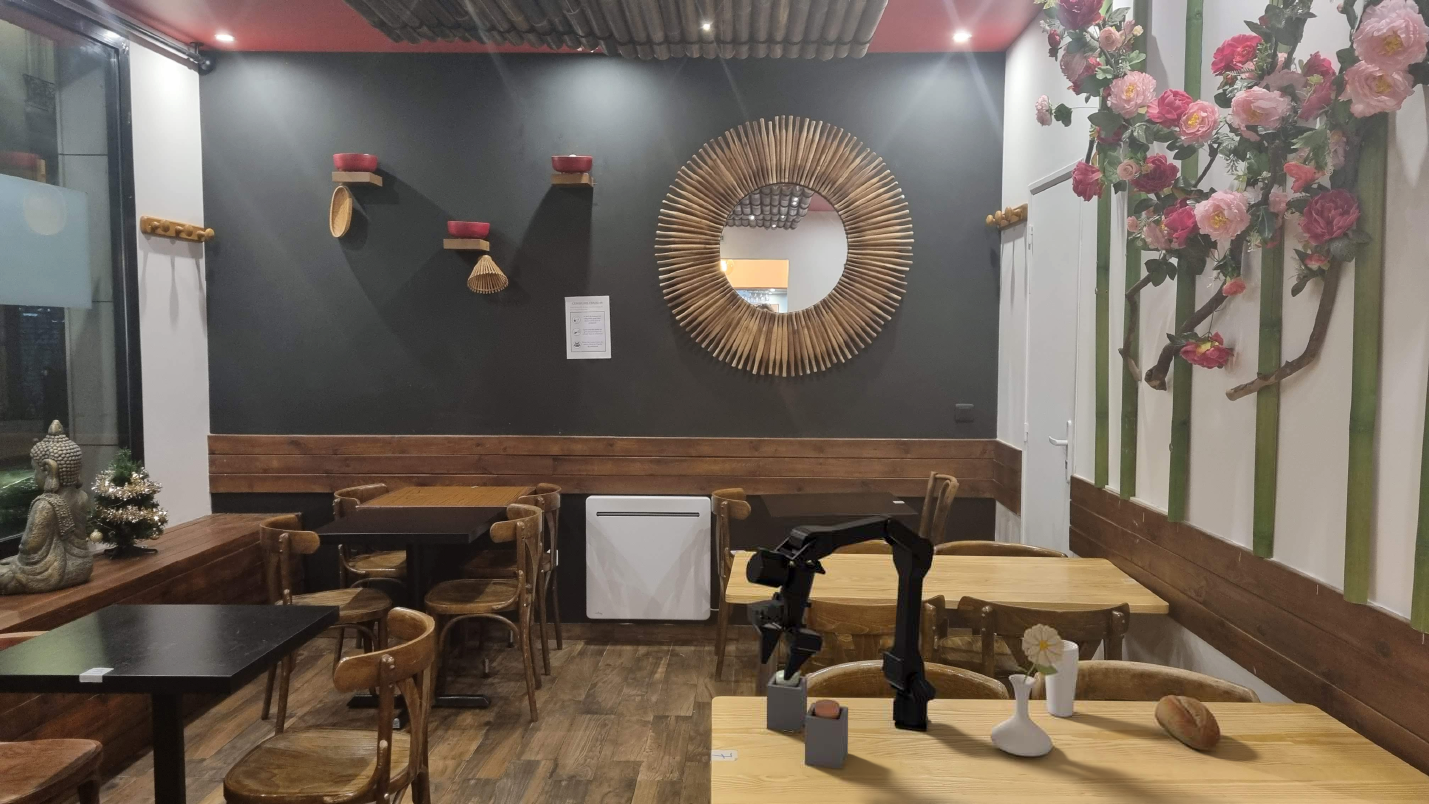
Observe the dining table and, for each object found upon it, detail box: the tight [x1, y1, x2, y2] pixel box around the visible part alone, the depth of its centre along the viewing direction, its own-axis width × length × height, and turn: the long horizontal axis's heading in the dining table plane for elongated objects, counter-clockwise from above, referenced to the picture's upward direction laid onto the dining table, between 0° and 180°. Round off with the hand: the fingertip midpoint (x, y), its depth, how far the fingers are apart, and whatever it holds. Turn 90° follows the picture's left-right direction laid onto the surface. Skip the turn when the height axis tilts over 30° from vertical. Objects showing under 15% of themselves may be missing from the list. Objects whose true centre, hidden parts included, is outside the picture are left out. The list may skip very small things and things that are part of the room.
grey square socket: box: [766, 672, 808, 733], centre depth 174 cm, size 7×7×9 cm
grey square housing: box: [804, 702, 849, 771], centre depth 159 cm, size 7×7×9 cm
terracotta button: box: [814, 698, 840, 720], centre depth 158 cm, size 5×5×2 cm
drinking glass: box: [1044, 639, 1079, 718], centre depth 179 cm, size 7×7×15 cm
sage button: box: [775, 669, 800, 688], centre depth 173 cm, size 5×5×2 cm
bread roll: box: [1154, 694, 1221, 751], centre depth 168 cm, size 10×15×8 cm, turn 3°
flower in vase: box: [989, 623, 1064, 757], centre depth 162 cm, size 13×11×25 cm
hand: (774, 671), depth 160 cm, fingers open, 9 cm apart
